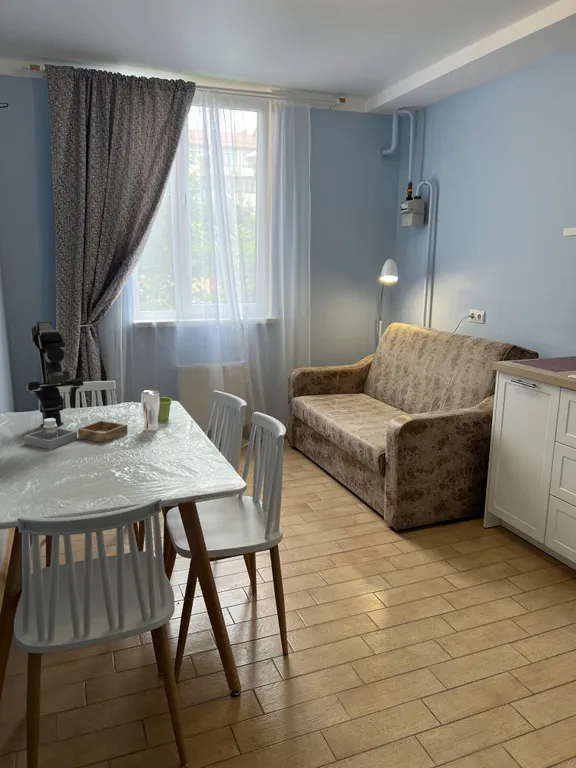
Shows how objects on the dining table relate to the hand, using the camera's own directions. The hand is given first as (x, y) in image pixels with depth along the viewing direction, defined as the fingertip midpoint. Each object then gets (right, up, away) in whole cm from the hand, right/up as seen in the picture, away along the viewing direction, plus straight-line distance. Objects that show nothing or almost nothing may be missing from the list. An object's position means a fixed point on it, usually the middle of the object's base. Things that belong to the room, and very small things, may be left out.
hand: (57, 408), depth 211 cm
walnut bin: (+13, -11, +10) cm, 20 cm away
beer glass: (+29, -9, +19) cm, 36 cm away
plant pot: (+31, -7, +32) cm, 45 cm away
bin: (-3, -12, +2) cm, 13 cm away
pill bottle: (-3, -13, +3) cm, 13 cm away
